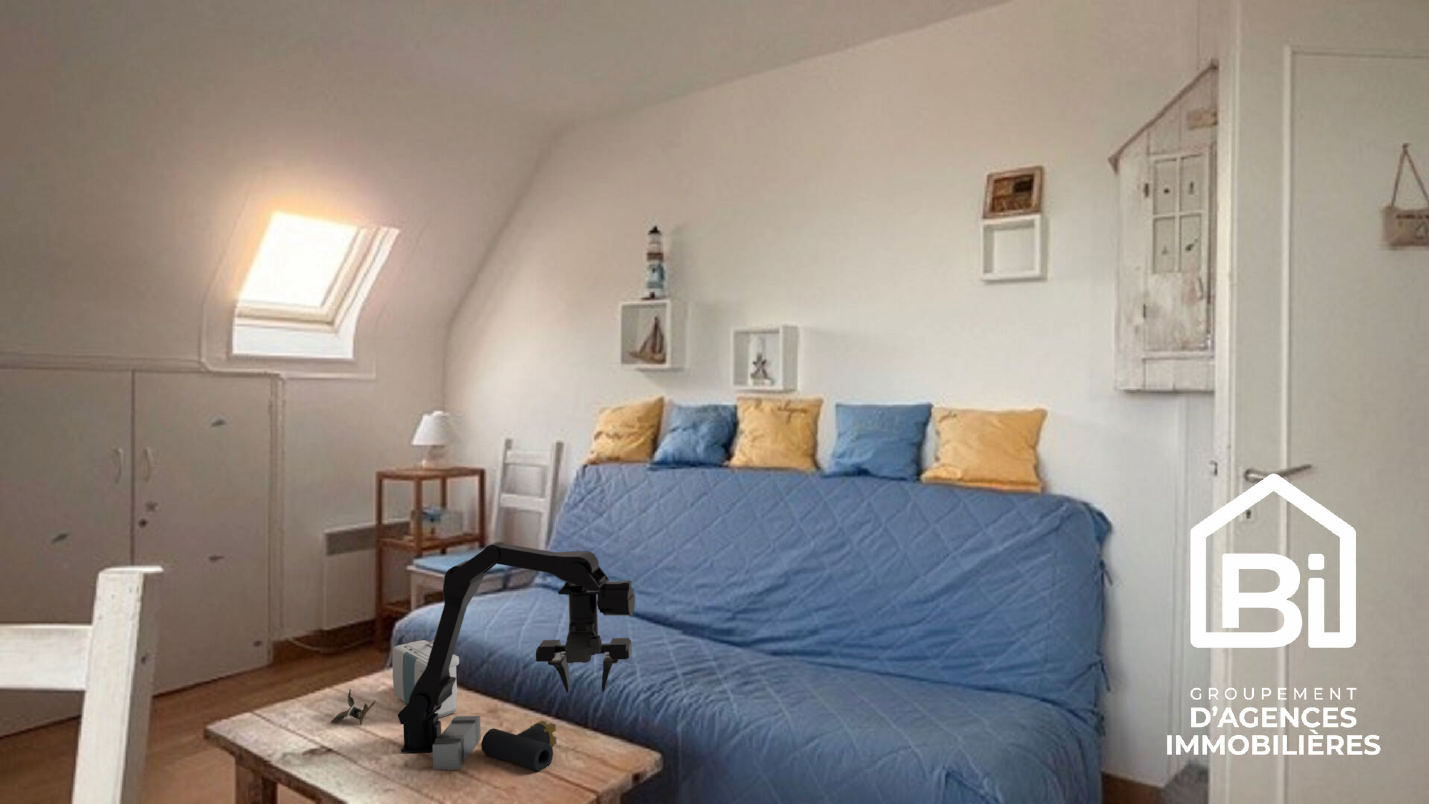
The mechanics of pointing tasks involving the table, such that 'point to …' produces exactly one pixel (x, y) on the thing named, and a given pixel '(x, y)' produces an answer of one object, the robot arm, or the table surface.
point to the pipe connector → (522, 745)
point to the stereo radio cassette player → (418, 672)
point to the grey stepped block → (456, 743)
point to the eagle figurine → (353, 710)
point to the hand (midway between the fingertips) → (585, 691)
